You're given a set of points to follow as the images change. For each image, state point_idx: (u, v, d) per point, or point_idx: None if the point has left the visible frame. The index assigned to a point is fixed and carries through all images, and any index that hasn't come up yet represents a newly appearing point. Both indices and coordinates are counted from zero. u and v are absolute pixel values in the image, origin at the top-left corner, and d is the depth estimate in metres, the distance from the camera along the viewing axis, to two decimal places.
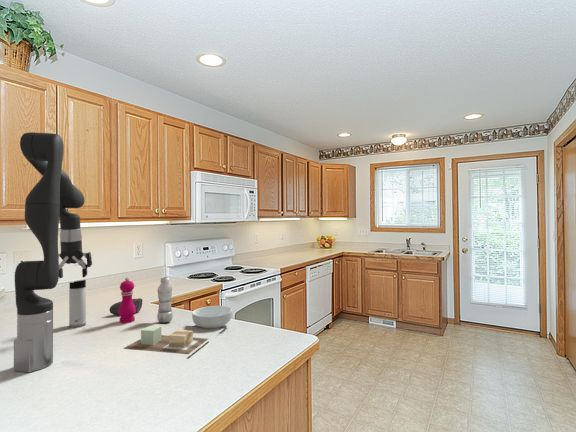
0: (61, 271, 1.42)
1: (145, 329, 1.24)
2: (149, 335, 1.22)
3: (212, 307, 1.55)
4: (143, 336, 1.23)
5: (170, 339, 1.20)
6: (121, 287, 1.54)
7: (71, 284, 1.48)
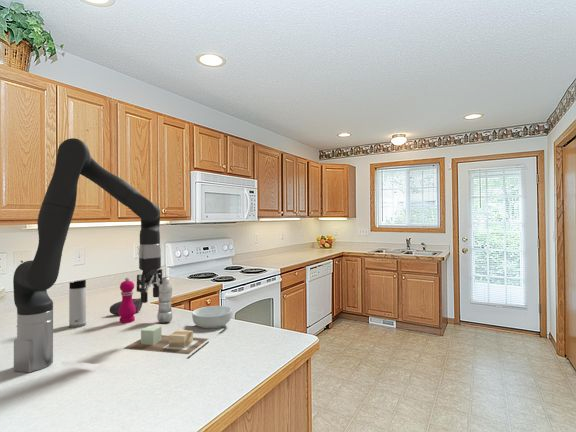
0: (155, 290, 1.31)
1: (145, 329, 1.24)
2: (149, 335, 1.22)
3: (212, 307, 1.55)
4: (143, 336, 1.23)
5: (170, 339, 1.20)
6: (121, 287, 1.54)
7: (71, 284, 1.48)
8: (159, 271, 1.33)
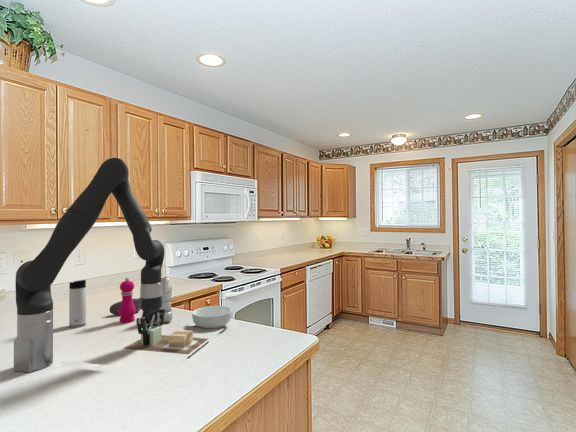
0: None
1: None
2: None
3: (212, 307, 1.55)
4: None
5: (170, 339, 1.20)
6: (121, 287, 1.54)
7: (71, 284, 1.48)
8: (161, 311, 1.30)
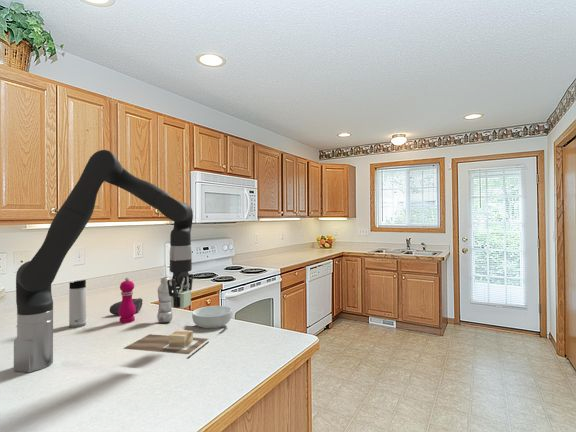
0: None
1: None
2: (180, 298, 1.20)
3: (212, 307, 1.55)
4: None
5: (170, 339, 1.20)
6: (121, 287, 1.54)
7: (71, 284, 1.48)
8: (190, 276, 1.28)
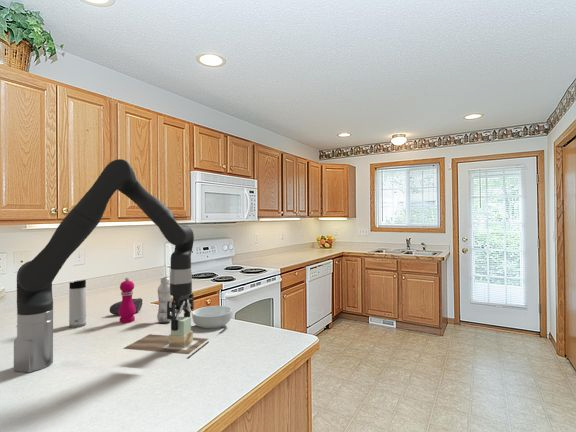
0: (186, 315, 1.26)
1: None
2: (180, 326, 1.19)
3: (212, 307, 1.55)
4: None
5: (170, 339, 1.20)
6: (121, 287, 1.54)
7: (71, 284, 1.48)
8: (190, 296, 1.28)
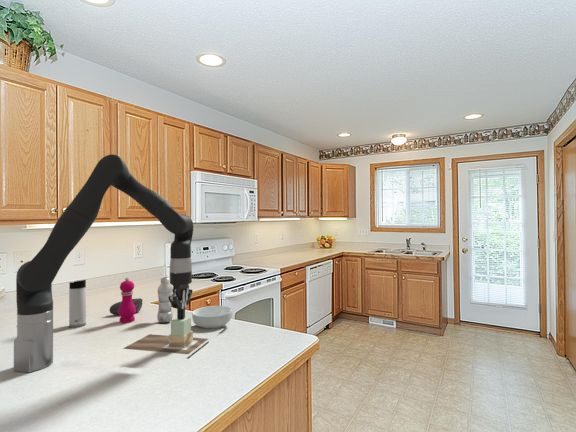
0: None
1: (175, 320, 1.21)
2: (180, 326, 1.19)
3: (212, 307, 1.55)
4: (173, 327, 1.20)
5: (170, 339, 1.20)
6: (121, 287, 1.54)
7: (71, 284, 1.48)
8: (189, 290, 1.27)
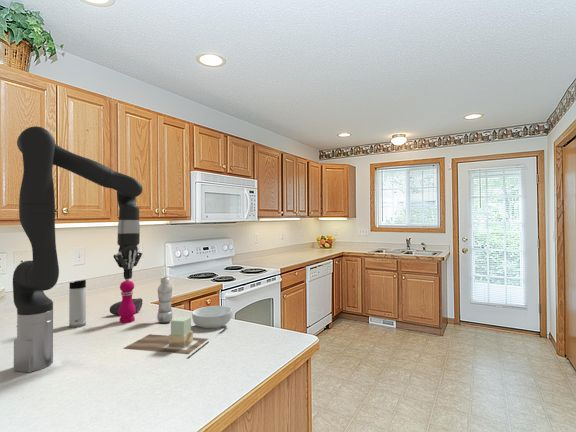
0: None
1: (175, 320, 1.21)
2: (180, 326, 1.19)
3: (212, 307, 1.55)
4: (173, 327, 1.20)
5: (170, 339, 1.20)
6: (121, 287, 1.54)
7: (71, 284, 1.48)
8: (139, 253, 1.33)
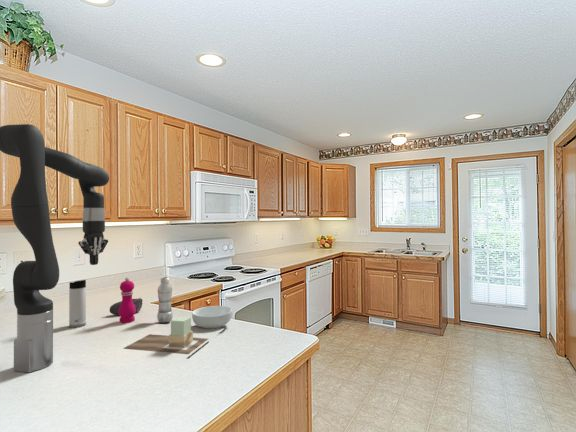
0: None
1: (175, 320, 1.21)
2: (180, 326, 1.19)
3: (212, 307, 1.55)
4: (173, 327, 1.20)
5: (170, 339, 1.20)
6: (121, 287, 1.54)
7: (71, 284, 1.48)
8: (105, 240, 1.37)
